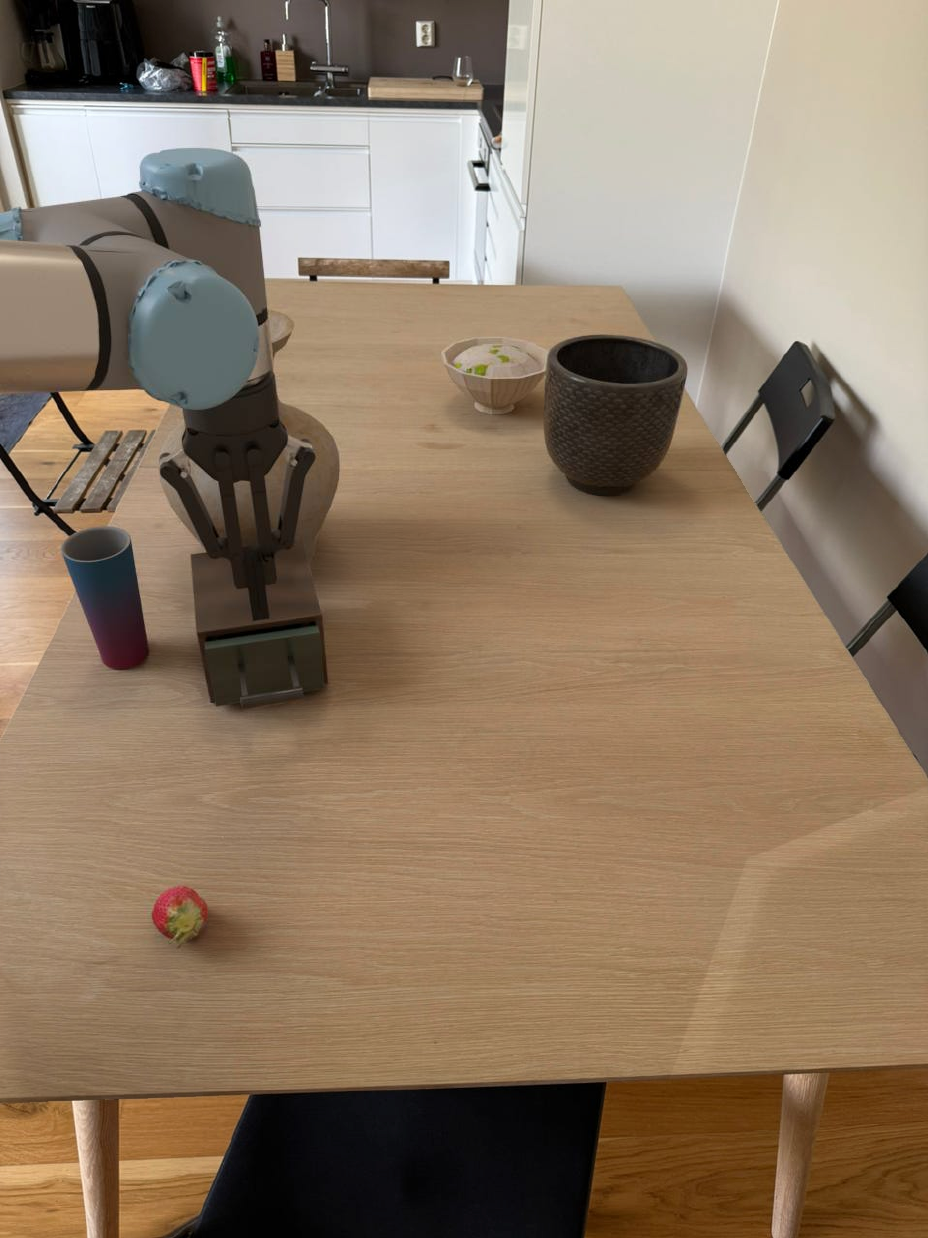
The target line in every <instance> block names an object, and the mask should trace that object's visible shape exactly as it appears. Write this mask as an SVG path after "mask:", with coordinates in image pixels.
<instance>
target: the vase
mask: <svg viewBox="0 0 928 1238" xmlns="http://www.w3.org/2000/svg"><path fill="white" fill-rule="evenodd" d="M267 311H268V314H269V323H270V332H271V342H272V351H273V360H274V361H275V356H276V354H277V352H279V351H280V350H282V349H283V348H284V347H285V346H286V345H287V343H288V342H289V339H290V337H291V335H292V333H293V331H294V329H295V323H294V320H293V319H292V318H291V317H289V316H288V315H287V314H285V313H282V312H280V311H276V310H273V309H268V308H267ZM270 370H272V371H273V372H274V366H273V367H272V368H271V369H270ZM277 398H278V407H279V417H280V420H281V422H282V424H283V425H284V426H285V428H286V431H287V434H288V435H289V436H291V437H293V438H295V439H298V440H301V439H308V440H310V442H311V444H312V447H313V450H314V453H315V457H316V459H315V461H314V463H313V464H312V466H311V468H310V469H309V471H308V473H307V474H306V476H305V481H304V486H303V492H302V498H301V504H300V510H299V515H298V521H297V527H296V533H295V539H294V541H301V540H303V543H304V546H305V550H306V554H307V558H308V562H309V563H310V561H312V559H313V557H314V555H315V552H316V544H317V537H318V535H319V533H320V531H321V529H322V527H323V524H324V522H325V519H326V517H327V515H328V513H329V511H330V509H331V506H332V504H333V502H334V499H335V495H336V493H337V489H338V486H339V481H340V469H341V466H340V463H341V462H340V452H339V449H338V447H337V444H336V441H335V439H334V437H333V435H332V434H331V433H330V431H329V430H328V429H327V428H326V427H325V425H324V424H323V423H321V422H320V421H319V420H318V419H316V418H315V417H313V415H312V414H310V413H308V412H306V411H304V410H302V409H300V408H298V407H296V406H293V405H290V404H288V403H284V402H282V401H281V400H280V398H279V396H278V394H277ZM184 431H185V422H184V420H182V421H181V422H180V423H179V424H178V425H176V426H175V427H174V429H173V430H172V431H171V432H170V433H169V435H168V436H167V437H166V438H165V440H164V442H163V444H162V446H161V449H160V452H159V454H158V459H159V458H160V455H161V454H163V453H170V454H171V453H172V452H174V451H175V450H176V449H178V448H179V447H180V446H182V436H183V433H184ZM189 463H190V465H191V474H190V475H191V477H192V479H193V481H194V483H195V485H196V487H197V490H198V492H199V494H200V496H201V498H202V500H203V502H204V504H205V507H206V509H207V511H208V513H209V515H210V517H211V519H212V521H213V523H214V526H215V528H216V530H217V532H218V534H219V536H220V537H222V538H227V535H226V529H225V522H224V516H223V509H222V503H221V497H220V490H219V484H218V481H216V480H214V479H212V478H211V477H210V476H209V475H208V474H207V473H206V472H204V471H203V470H202V469H201V468H200V467H199V466H198V465H197V464H196V463H195V462H193V461H192V460H191V459H190V460H189ZM287 464H288V463H287V461H286V458H285V450H283V451H282V453H281V454H280V456H279V457H278V459H277V460H276V462H275V464H274V465H273V467H272V468H271V470H270V471H269V473H268V474H267V475H265V476H264V477H265V485H266V494H267V502H268V510H269V518H270V525H271V532H273V531H276V530H277V526H278V519H279V513H280V507H281V500H282V494H283V488H284V482H285V475H286V469H287ZM157 466H158V475H159V482H160V485H161V488H162V490H163V493H164V495H165V497H166V499H167V501H168V504H169V505H170V507H171V509H172V510H173V512H174V514H175V515H176V516H177V518H178V520H180V522H181V523H182V524H183V525H184V527H185V528H186V529H187V531H189V532H190V534H191V535H192V536H193V537H194V538H195V540H196V541H197V542H198V544H199V545H200V546H201V547H202V548H203V550H204V553H205V552H206V550H205V548H204V546H203V544H202V542H201V540H200V538H199V535H198V533H197V531H196V529H195V527H194V525H193V523H192V521H191V519H190V517H189V515H188V513H187V511H186V509H185V507H184V505H183V503H182V501H181V499H180V497H179V495H178V493H177V491H176V490H175V489H174V488H173V487H172V486H171V485H170V484H169V483H168V482H167V481H166V480H165V479H163V478H162V476H161V475H160V463H159V462H158V465H157ZM234 490H235V498H236V505H237V512H238V519H239V526H240V533H241V540H242V547H247V546H250V547H251V546H255V545H258V538H257V531H256V524H255V517H254V510H253V503H252V496H251V489H250V482H249V481H239V482H236V483H234Z"/></svg>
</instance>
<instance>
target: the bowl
mask: <svg viewBox="0 0 928 1238" xmlns="http://www.w3.org/2000/svg"><path fill="white" fill-rule="evenodd" d="M549 352H550V351H549V350H548V349H546V348H544V347H542V346H539V345H538V344H536V343H533V342H531V341H528V340H523V339H518V338H512V337H506V336H475V337H471V338H466V339H463V340H457V341H454V342H452V343H450V344H449V345H448V346H447V347H446V348H444V349H443V350H442V351H440V354H441V358H442V362H443V365H444V367H445V369H446V371H447V374H448V375H449V378H450V380H451V381H452V382H453V383H454V385H456V386H457V388H458V389H459V390H460V391H461V393H463V395H465V396H466V397H468V398H469V399H471V400H473V401H474V408H475V409H476V410H477V411H479V412H480V413H483V414H488V415H505V414H508V413H511V412H512V411H513V410H514V409H515V405H514V404H515V403H518V402H520V401H522V400H523V399H524V398H525V397H526V396H527V395H528V394H530V392H532V391H533V390H534V389H535V388H536V387H537V385H539V384H540V383H541V382H542V380H543V379H544V378H545V377H546V364H547V357H548V353H549Z"/></svg>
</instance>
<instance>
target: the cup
mask: <svg viewBox="0 0 928 1238" xmlns="http://www.w3.org/2000/svg"><path fill="white" fill-rule="evenodd" d="M60 552H61V555H62V558H63V560H64V563H65V566H66V569H67V571H68V573H69V576H70V580H71V582H72V584H73V586H74V587H73V588H74V589H75V592H76V595H77V598H78V600H79V603H80V605H81V608H82V610H83V613H84V616H85V618H86V621H87V623H88V627H89V629H90V631H91V634H92V637H93V639H94V642H95V644H96V647H97V650H98V652H99V656H100V658H101V661H102V663H103V664H104V665H105V666H106V667H107V668H110V669H112V670H117V671H119V670H122V671H123V670H129V669H133V668H135V667H137V666H139V665H141V664H142V663H144V662H145V661H146V660H147V658H148V657H149V654H150V648H149V643H148V636H147V629H146V624H145V617H144V611H143V606H142V604H143V603H142V600H141V592H140V586H139V581H138V575H137V568H136V567H137V566H136V562H135V555H134V549H133V543H132V537H131V535H130V533H129V532H128V531H126V530H125V529H123V528H121V527H117V526H110V525H101V526H100V525H99V526H93V527H88V528H83V529H81V530H79V531H76V532H74V533H73V534H71V535H69V536H68V537H67V538H65V539H64V541H63V542H62V544H61V546H60Z"/></svg>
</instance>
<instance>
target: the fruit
mask: <svg viewBox="0 0 928 1238" xmlns="http://www.w3.org/2000/svg"><path fill="white" fill-rule="evenodd" d="M208 909H209V908H208V904H207V903H206V900H204V898H203V897H201V896H200V895H199V894H198V893H197V890H195V889H193V888H191V887H188V886H185V885H179V886H173V887H169V888H167V889H166V890H165V891H164V892H163V893H161V894H160V895H159V896H158V898H157V899H156V901H155V903H154V906H153V908H152V912H151V913H150V914H151V920H152V922H153V924H154V926H155V928H156V929H157V931H158V932H159V933H160V934H161V935H163V936H164V937H166V938H168V939H170V941H169V942H168V945H171V944H172V943H174V942H175V941H177V942H176V950H179V949H180V948H181V947H182V946H183V945H184V944H185V943H186V942H187V941H190V940H192V939H194V937H197V936H199V935H200V933H201V932H202V930H203V929H205V927H206V924H207V922H208V921H207V919H208Z"/></svg>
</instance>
